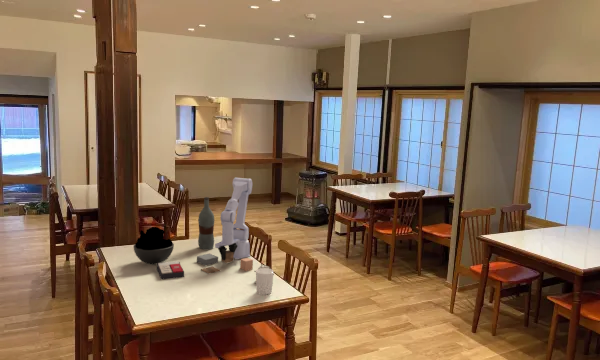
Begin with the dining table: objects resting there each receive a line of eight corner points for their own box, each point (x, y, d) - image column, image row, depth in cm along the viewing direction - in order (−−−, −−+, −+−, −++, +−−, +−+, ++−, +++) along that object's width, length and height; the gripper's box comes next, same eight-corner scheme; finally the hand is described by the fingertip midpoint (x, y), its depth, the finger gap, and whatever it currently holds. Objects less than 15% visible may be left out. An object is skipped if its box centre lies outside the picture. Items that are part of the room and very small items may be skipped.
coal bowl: (172, 256, 260) (172, 223, 257) (175, 268, 241) (174, 232, 238) (134, 258, 253) (133, 224, 251) (133, 271, 235) (132, 234, 232)
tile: (212, 267, 245) (212, 266, 245) (220, 270, 240) (220, 269, 240) (200, 270, 240) (200, 269, 240) (208, 273, 235) (208, 272, 235)
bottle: (195, 249, 275) (195, 198, 270) (201, 244, 284) (201, 195, 279) (211, 250, 273) (211, 199, 269) (216, 246, 282) (217, 196, 278)
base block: (209, 259, 258) (209, 253, 257) (218, 263, 253) (218, 256, 252) (196, 262, 252) (196, 256, 252) (205, 266, 247) (205, 259, 246)
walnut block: (228, 259, 251) (228, 250, 250) (233, 261, 248) (233, 252, 247) (221, 261, 248) (221, 251, 247) (226, 263, 245) (226, 254, 244)
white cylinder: (266, 296, 209) (266, 275, 207) (251, 292, 213) (252, 271, 211) (276, 291, 215) (276, 270, 214) (262, 287, 220) (262, 266, 218)
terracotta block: (247, 266, 248) (247, 257, 247) (252, 269, 244) (252, 259, 244) (240, 268, 244) (240, 259, 244) (245, 271, 241) (245, 261, 241)
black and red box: (161, 273, 224) (156, 261, 237) (161, 281, 225) (156, 269, 238) (184, 270, 229) (178, 259, 242) (184, 278, 229) (178, 267, 243)
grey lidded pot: (267, 287, 230) (280, 272, 229) (259, 286, 222) (272, 270, 221) (255, 275, 234) (268, 259, 233) (247, 274, 226) (260, 258, 226)
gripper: (233, 229, 253) (233, 254, 255) (211, 234, 243) (211, 259, 245) (242, 232, 249) (241, 257, 251) (220, 237, 238) (219, 263, 240)
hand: (227, 258), depth 248 cm, fingers closed on walnut block, 5 cm apart
